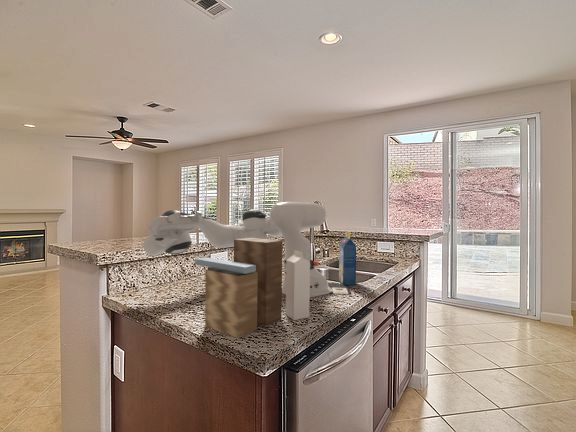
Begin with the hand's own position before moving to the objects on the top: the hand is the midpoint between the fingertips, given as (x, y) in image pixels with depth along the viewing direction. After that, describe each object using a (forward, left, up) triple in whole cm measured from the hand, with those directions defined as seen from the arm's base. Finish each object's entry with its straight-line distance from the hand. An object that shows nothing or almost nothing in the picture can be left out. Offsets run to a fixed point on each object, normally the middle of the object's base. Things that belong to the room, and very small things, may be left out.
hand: (189, 213), depth 114 cm
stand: (-19, +21, -34) cm, 44 cm away
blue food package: (-75, -8, -34) cm, 83 cm away
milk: (-32, +24, -34) cm, 53 cm away
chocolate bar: (-65, 0, -35) cm, 74 cm away
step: (-9, +26, -34) cm, 44 cm away
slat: (-7, +23, -16) cm, 29 cm away
